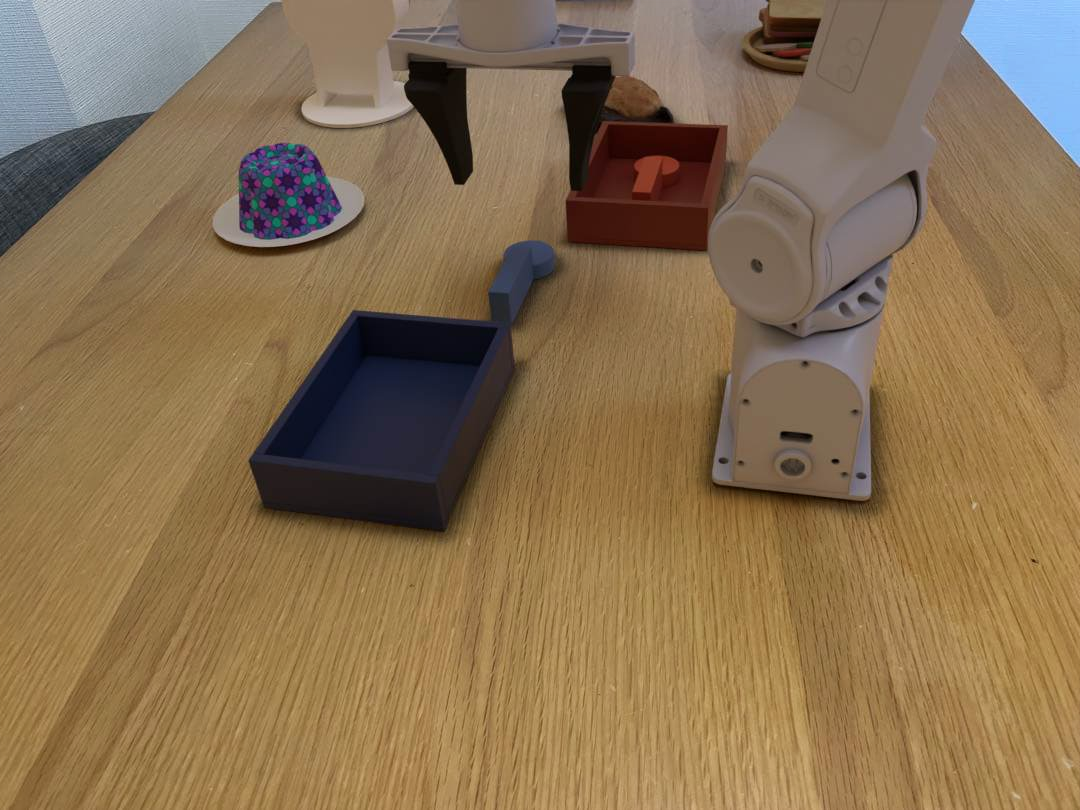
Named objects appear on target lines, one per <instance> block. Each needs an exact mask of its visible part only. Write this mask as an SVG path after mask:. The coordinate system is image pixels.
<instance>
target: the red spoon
mask: <svg viewBox="0 0 1080 810" xmlns="http://www.w3.org/2000/svg"><path fill="white" fill-rule="evenodd" d="M679 168H680V165H679V162H678V161H677V160H675V159H674V158H671V157H667V156H648V157H644V158H642V159H639V160H638V161H637V162H636V163H635V164H634V181H635V185H634V188H633V190H632V200H643V201H658V200H659V197H660V194H661V190H662V188H667V187H670V186H673V185H675V184H676V183H677V182H678V181H679Z"/></svg>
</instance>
